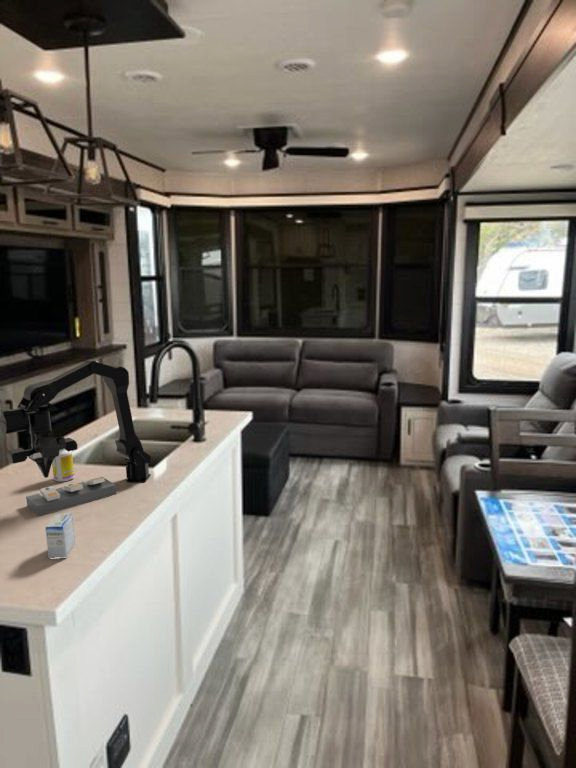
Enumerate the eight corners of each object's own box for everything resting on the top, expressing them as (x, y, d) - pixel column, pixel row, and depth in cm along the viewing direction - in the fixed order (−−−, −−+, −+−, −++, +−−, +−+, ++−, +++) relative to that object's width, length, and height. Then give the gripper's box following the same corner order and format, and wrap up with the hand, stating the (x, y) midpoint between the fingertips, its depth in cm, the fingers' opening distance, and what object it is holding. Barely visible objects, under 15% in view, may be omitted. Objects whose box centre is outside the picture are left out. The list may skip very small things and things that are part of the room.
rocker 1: (40, 492, 171) (40, 488, 171) (52, 489, 174) (52, 485, 173) (47, 501, 167) (47, 497, 167) (60, 497, 170) (59, 494, 169)
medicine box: (58, 545, 147) (54, 513, 146) (76, 544, 148) (72, 512, 146) (48, 560, 140) (44, 527, 138) (67, 559, 140) (63, 526, 138)
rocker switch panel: (103, 485, 188) (102, 475, 188) (116, 493, 181) (115, 483, 180) (27, 506, 173) (25, 495, 172) (38, 516, 165) (37, 504, 165)
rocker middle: (64, 489, 176) (63, 485, 176) (75, 486, 178) (75, 482, 178) (71, 491, 171) (70, 487, 171) (83, 488, 174) (82, 484, 174)
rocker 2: (86, 485, 180) (86, 481, 181) (97, 482, 183) (97, 478, 183) (93, 484, 176) (92, 480, 176) (104, 481, 178) (104, 477, 178)
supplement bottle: (78, 475, 198) (74, 440, 196) (69, 482, 192) (65, 445, 189) (59, 475, 199) (56, 439, 196) (50, 482, 192) (46, 445, 190)
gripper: (15, 439, 156) (21, 493, 159) (82, 426, 168) (87, 476, 171) (3, 431, 164) (10, 482, 168) (68, 419, 177) (73, 467, 180)
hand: (46, 477), depth 171 cm, fingers closed
